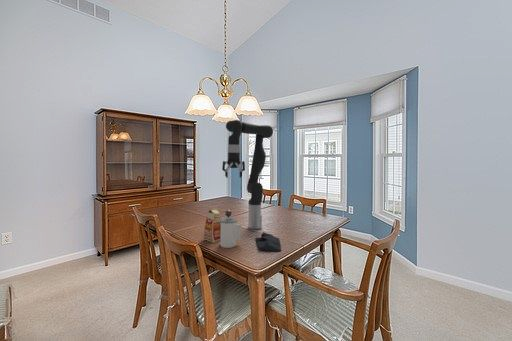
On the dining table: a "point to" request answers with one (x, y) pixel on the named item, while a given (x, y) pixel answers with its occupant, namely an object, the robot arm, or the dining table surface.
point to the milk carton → (212, 226)
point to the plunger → (228, 213)
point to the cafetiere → (229, 232)
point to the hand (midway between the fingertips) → (233, 177)
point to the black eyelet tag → (268, 242)
